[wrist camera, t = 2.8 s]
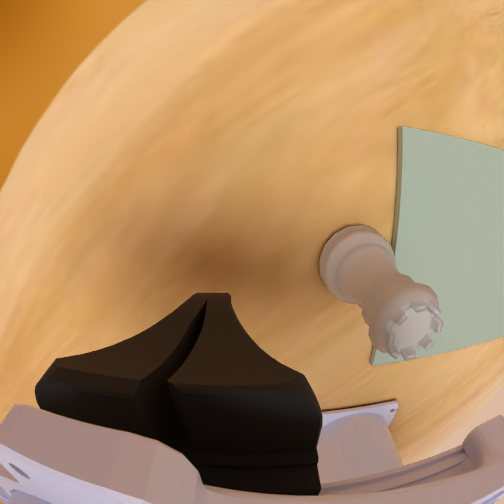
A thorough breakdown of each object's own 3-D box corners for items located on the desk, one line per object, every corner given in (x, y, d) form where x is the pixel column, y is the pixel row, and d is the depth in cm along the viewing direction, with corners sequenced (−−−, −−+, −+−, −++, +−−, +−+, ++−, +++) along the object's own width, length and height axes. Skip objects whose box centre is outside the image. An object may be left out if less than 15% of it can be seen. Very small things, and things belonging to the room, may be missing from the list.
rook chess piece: (392, 227, 16) (476, 280, 9) (377, 294, 18) (437, 374, 10) (323, 218, 16) (381, 274, 8) (311, 291, 17) (347, 383, 10)
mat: (511, 330, 19) (514, 333, 19) (369, 361, 19) (372, 366, 19) (544, 166, 14) (548, 166, 14) (397, 126, 14) (402, 126, 14)
